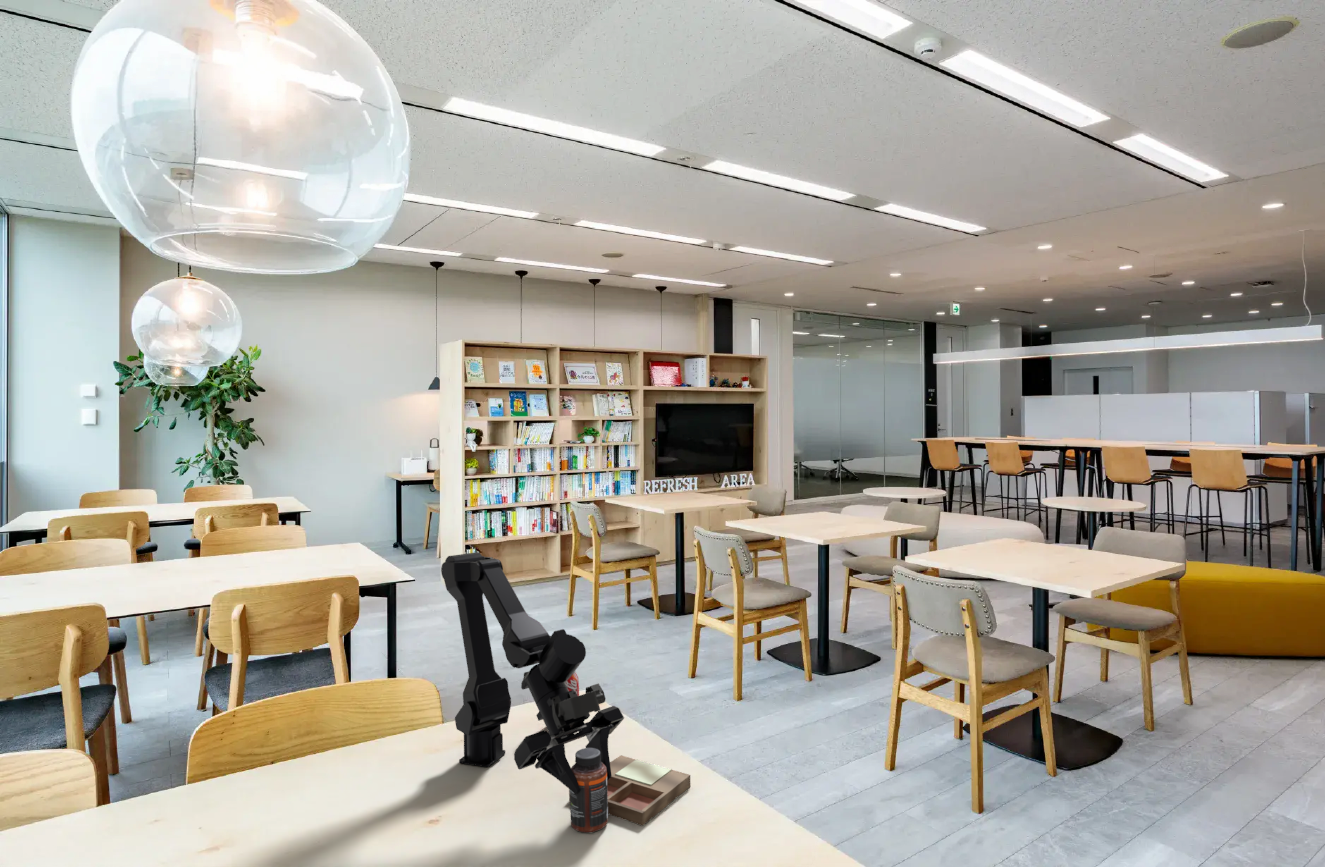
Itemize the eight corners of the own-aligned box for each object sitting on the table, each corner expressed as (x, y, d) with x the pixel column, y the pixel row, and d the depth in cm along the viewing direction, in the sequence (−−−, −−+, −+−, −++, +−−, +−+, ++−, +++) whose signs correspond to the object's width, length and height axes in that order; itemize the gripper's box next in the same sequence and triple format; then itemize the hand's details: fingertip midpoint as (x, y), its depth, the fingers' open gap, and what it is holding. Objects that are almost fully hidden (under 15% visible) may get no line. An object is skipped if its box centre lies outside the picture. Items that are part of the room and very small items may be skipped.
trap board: (642, 825, 112) (642, 811, 112) (569, 800, 120) (569, 787, 120) (690, 786, 125) (690, 773, 125) (621, 766, 133) (620, 754, 133)
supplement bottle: (615, 819, 114) (614, 748, 114) (596, 838, 109) (595, 764, 109) (583, 811, 117) (581, 742, 117) (563, 829, 111) (562, 757, 111)
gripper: (523, 685, 109) (566, 782, 101) (616, 658, 122) (661, 741, 114) (496, 722, 115) (536, 816, 107) (588, 692, 128) (630, 774, 120)
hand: (594, 785), depth 112 cm, fingers closed on supplement bottle, 6 cm apart
